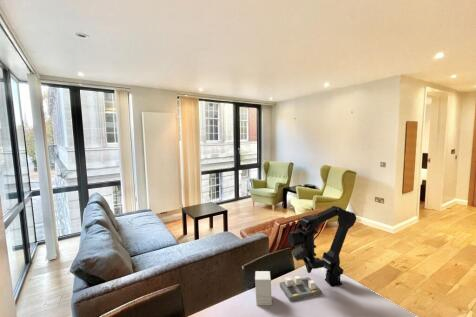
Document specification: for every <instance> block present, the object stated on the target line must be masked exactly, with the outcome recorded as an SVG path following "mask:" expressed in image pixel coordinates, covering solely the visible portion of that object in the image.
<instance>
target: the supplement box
mask: <svg viewBox="0 0 476 317" xmlns="http://www.w3.org/2000/svg"><path fill="white" fill-rule="evenodd" d="M254 284H255V286H254V287H255V300H256V306H272V305H273V302H272V301H273V299H272V298H273V296H272V278H271V271H269V270H265V271H264V270H261V271H259V270H255V273H254Z"/></svg>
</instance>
